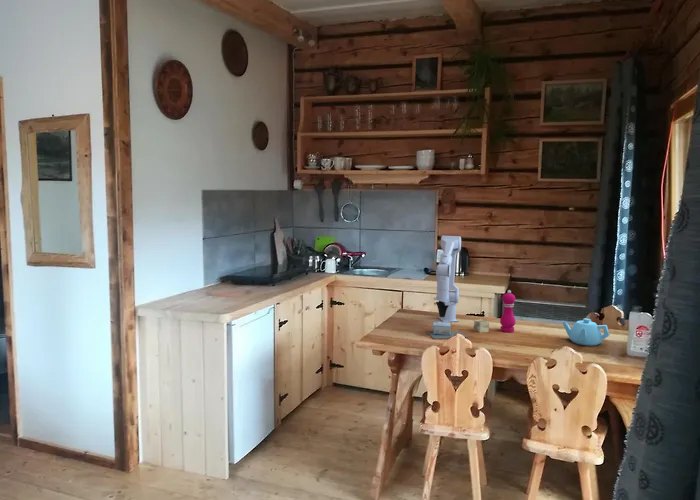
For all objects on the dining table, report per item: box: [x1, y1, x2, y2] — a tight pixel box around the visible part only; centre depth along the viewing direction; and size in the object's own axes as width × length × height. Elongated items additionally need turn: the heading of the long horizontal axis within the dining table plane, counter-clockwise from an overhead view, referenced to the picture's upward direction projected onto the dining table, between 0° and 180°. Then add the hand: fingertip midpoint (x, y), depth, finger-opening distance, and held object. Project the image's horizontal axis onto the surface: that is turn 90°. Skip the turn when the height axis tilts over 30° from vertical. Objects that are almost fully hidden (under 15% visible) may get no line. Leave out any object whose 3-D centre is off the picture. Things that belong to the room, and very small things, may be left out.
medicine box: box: [432, 320, 452, 335], centre depth 260 cm, size 8×4×9 cm
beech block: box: [473, 319, 490, 334], centre depth 265 cm, size 5×5×5 cm
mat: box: [427, 330, 468, 340], centre depth 257 cm, size 10×16×1 cm, turn 98°
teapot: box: [561, 317, 610, 347], centre depth 247 cm, size 15×15×11 cm
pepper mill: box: [499, 289, 516, 333], centre depth 265 cm, size 7×7×20 cm
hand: (442, 316), depth 264 cm, fingers closed
